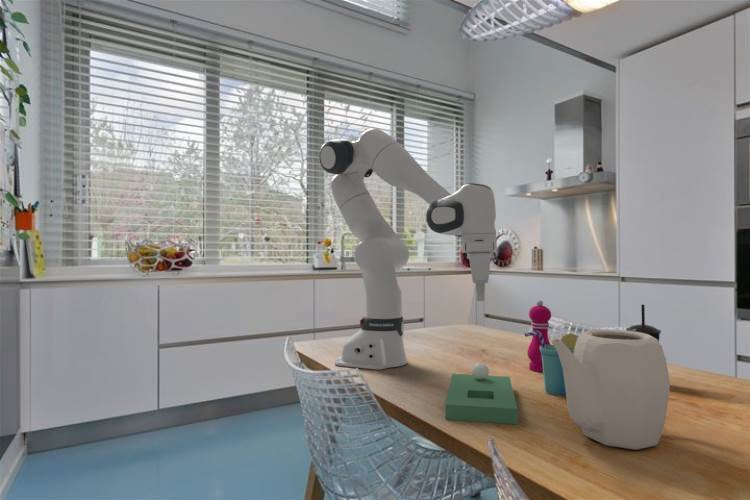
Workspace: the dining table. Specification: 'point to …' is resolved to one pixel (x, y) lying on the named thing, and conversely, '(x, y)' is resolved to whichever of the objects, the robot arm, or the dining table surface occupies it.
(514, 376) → the dining table surface
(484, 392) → the putting mat
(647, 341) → the watering can
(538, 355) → the pepper mill
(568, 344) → the cup
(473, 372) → the ball
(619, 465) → the dining table surface
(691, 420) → the dining table surface
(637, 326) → the drinking cup
